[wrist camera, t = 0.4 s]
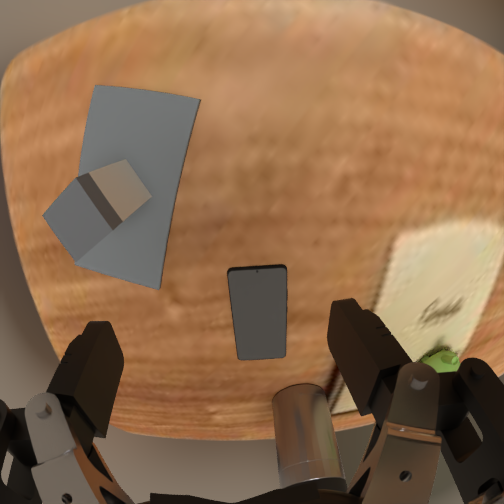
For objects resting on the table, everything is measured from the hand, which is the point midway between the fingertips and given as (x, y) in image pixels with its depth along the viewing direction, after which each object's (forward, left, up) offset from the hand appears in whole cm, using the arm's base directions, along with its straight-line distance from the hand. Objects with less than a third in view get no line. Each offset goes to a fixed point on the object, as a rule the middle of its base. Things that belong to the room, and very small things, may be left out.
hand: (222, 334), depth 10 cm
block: (-3, +12, -21) cm, 24 cm away
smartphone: (-15, -7, -22) cm, 27 cm away
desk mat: (-3, +12, -21) cm, 25 cm away
